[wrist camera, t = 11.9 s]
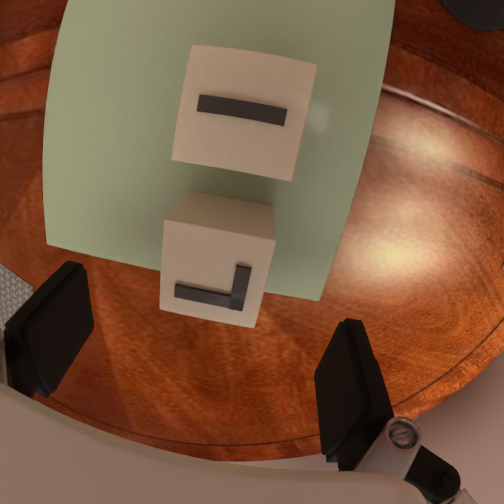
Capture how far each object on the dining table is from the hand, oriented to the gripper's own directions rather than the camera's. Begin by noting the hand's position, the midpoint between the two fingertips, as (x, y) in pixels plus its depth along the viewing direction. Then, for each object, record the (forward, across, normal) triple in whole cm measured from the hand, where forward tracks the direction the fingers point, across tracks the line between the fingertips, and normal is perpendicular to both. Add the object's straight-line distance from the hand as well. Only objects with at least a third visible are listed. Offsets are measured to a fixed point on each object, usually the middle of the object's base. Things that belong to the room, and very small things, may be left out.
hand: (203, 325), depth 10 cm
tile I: (+9, 0, -7) cm, 11 cm away
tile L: (+9, 0, +1) cm, 9 cm away
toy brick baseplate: (+9, +30, +14) cm, 34 cm away
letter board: (+10, +4, -7) cm, 13 cm away
